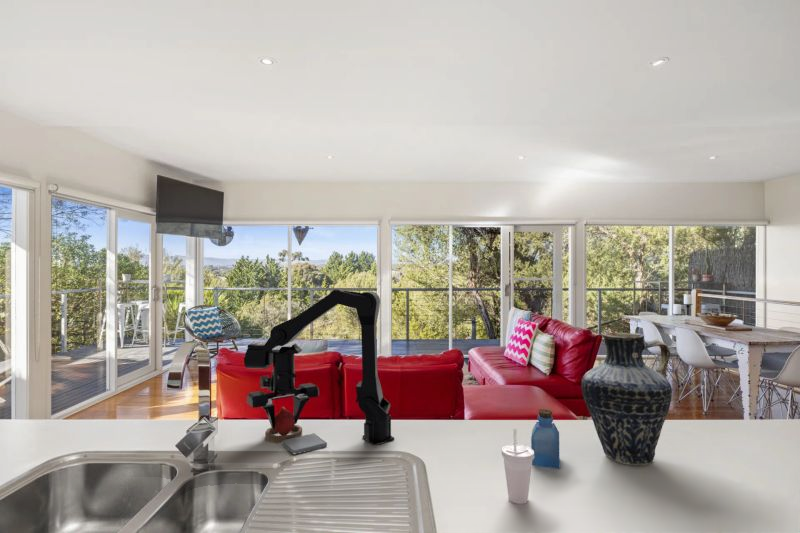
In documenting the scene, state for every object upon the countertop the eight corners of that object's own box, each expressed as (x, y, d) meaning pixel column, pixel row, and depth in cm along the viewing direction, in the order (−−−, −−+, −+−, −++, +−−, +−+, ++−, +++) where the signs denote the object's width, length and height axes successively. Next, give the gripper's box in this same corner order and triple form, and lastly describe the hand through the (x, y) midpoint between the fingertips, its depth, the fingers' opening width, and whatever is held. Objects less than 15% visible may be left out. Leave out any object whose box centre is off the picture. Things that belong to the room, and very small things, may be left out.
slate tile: (314, 436, 124) (314, 433, 124) (326, 446, 117) (326, 442, 117) (282, 444, 119) (282, 440, 119) (293, 454, 112) (293, 450, 112)
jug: (613, 479, 98) (612, 341, 98) (566, 444, 117) (566, 329, 118) (697, 472, 101) (696, 338, 102) (638, 439, 121) (638, 327, 121)
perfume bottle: (559, 458, 109) (558, 408, 109) (559, 469, 103) (559, 416, 103) (532, 454, 111) (532, 406, 111) (531, 465, 105) (531, 413, 106)
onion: (297, 432, 127) (297, 404, 127) (290, 440, 121) (290, 410, 121) (277, 431, 128) (277, 403, 128) (269, 439, 122) (269, 410, 122)
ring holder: (294, 427, 131) (294, 421, 131) (307, 437, 123) (307, 431, 123) (261, 434, 126) (261, 428, 126) (272, 445, 118) (272, 439, 118)
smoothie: (497, 491, 93) (497, 423, 93) (527, 490, 93) (527, 422, 94) (507, 508, 87) (507, 435, 87) (540, 506, 87) (539, 433, 87)
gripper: (304, 360, 137) (304, 412, 136) (241, 368, 126) (241, 424, 126) (319, 366, 127) (320, 422, 127) (253, 376, 117) (253, 436, 117)
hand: (284, 425), depth 125 cm, fingers closed on onion, 6 cm apart
